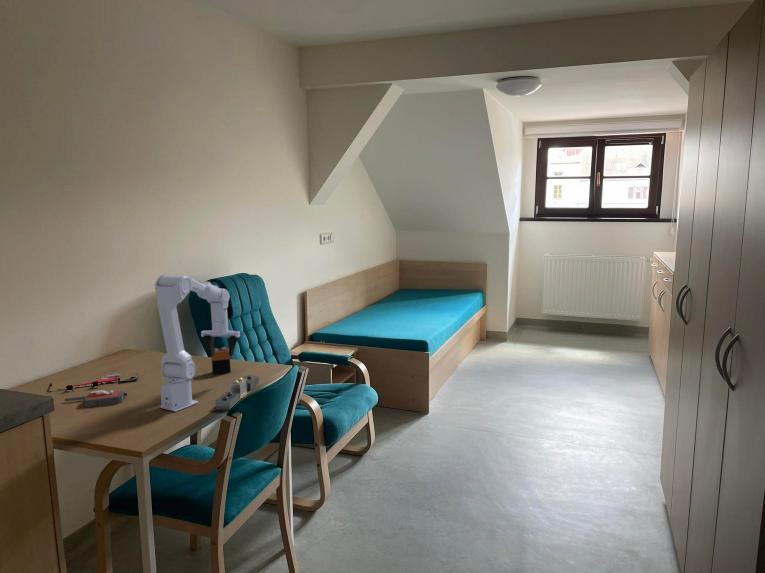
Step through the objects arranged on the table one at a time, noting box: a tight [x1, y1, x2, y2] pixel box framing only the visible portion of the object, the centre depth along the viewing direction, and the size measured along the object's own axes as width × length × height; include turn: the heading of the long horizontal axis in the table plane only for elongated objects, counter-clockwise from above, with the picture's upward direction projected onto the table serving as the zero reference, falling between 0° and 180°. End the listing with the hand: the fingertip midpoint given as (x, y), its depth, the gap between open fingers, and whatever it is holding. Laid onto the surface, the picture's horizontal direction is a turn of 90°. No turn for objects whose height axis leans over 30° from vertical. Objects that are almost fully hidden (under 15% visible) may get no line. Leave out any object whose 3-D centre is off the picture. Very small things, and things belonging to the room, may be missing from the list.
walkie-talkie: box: [64, 389, 128, 408], centre depth 191 cm, size 9×4×20 cm
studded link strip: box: [214, 374, 260, 411], centre depth 195 cm, size 26×5×4 cm, turn 172°
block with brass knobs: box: [229, 376, 247, 398], centre depth 195 cm, size 6×4×6 cm, turn 172°
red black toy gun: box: [66, 373, 139, 391], centre depth 212 cm, size 30×3×15 cm
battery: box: [211, 346, 231, 375], centre depth 222 cm, size 4×7×10 cm, turn 111°
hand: (221, 355), depth 209 cm, fingers open, 7 cm apart
